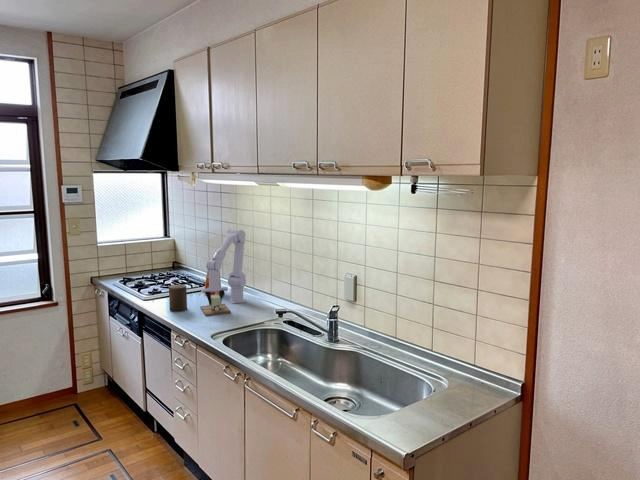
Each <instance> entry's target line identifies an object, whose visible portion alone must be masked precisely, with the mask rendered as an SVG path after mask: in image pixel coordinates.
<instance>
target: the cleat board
mask: <svg viewBox="0 0 640 480" xmlns="http://www.w3.org/2000/svg"><path fill="white" fill-rule="evenodd" d="M200 310H201V312H203V313H202V314H204V317H209V316H210V317H211V316H218V315H226V314H227V315H228V314H231V313H232V312H231V310H230V309H229V307H228V306H227V305H226V304H225V303H221V308H219V307H218V306H217V305H214V309H212V308H211V307H210V305H209V304H208V305H202V306H201V305H200Z"/></svg>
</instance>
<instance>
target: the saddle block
mask: <svg viewBox="0 0 640 480" xmlns="http://www.w3.org/2000/svg"><path fill="white" fill-rule="evenodd" d="M221 304H222V301H221V298H220V296H219V295H214V296H211V305H210V307H211V308H212V309H214V305H217V306H218V307H219V308H221Z"/></svg>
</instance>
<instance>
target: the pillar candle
mask: <svg viewBox="0 0 640 480" xmlns="http://www.w3.org/2000/svg"><path fill="white" fill-rule="evenodd" d="M187 292H188V291H187V285H186V284H172V285H169V286H168V298H169V299H168V302H169V305H168V306H169V307H168V308H169V311H170V312H173V313H174V312H175V313H177V312H178V313H180V312H185V311H187V310H188V301H187V300H188V295H187Z"/></svg>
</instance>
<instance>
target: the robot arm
mask: <svg viewBox="0 0 640 480" xmlns="http://www.w3.org/2000/svg"><path fill="white" fill-rule="evenodd" d="M224 237H225V238H224V241H223V243H222V245H221V246H220V248H219V249H217V250H216V251H215V253H214V254H213V256H212V258H211V259H209V260H208V261H207V263H206V265H205V267H206V269H207V271H208V273H209V288H207V289H205V288H202V289H201V292H200V293H201V294H206V296H205V297H206V298H207V301H208V305H211V294H210V292H218V291H219V296H220V298H221V302H222V301H223V298H224V296H225V293H226V292H228V291H229V290H228V289H229V288H228V286H229V287H230V298H228V300H229V301H230V303H231V304H240V303H241V304H242V303H246V300H245V299H244V287H245V286H246V284H247V279H246V274H245V273H244V272H243V265H244V264H243V262H244V250H245V243H246V232H245V231H244V230H243V229H233V228H232V229H231V228H229V229H227V231H226V232H225V236H224ZM232 244H233V245H234V253H233V256H234V257H233V268H232V271H231V272H230V273H229V275H228V279H227V284H228V286H221V287H220V280H221V279H220V280H219V271H220V270H221V268H222V264H223V261H224V259H225V257H226V256H227V251H228V250H229V247H230V246H231V245H232Z"/></svg>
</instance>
